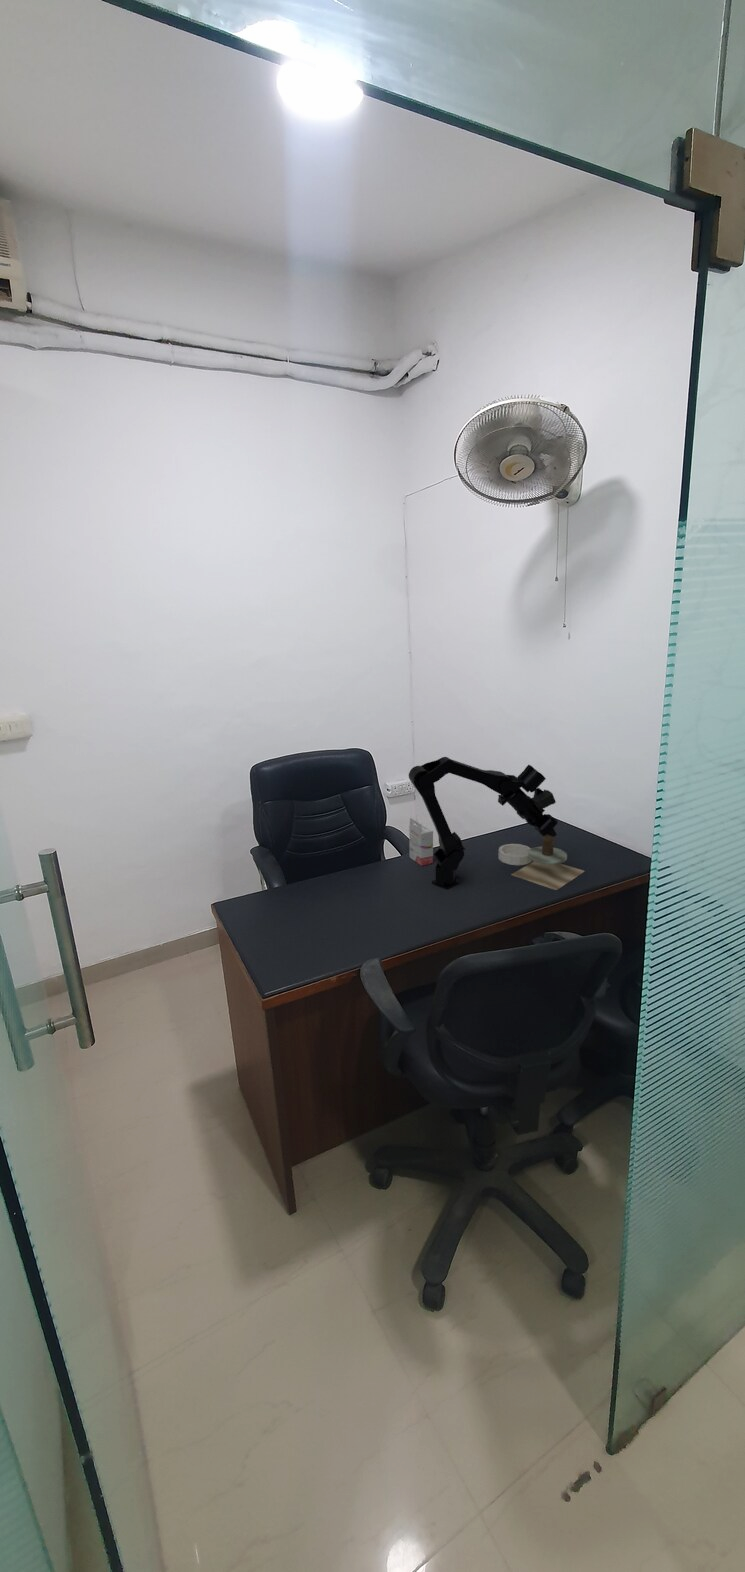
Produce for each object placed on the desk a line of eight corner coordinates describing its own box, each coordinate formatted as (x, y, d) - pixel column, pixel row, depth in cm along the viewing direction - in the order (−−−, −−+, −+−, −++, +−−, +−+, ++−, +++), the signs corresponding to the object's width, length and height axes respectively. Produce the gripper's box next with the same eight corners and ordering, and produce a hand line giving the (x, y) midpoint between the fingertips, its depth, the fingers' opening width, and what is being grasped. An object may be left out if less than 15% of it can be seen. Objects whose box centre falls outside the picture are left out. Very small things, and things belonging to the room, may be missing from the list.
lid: (555, 867, 184) (558, 834, 181) (520, 857, 192) (522, 825, 189) (573, 855, 193) (576, 823, 189) (539, 846, 200) (541, 815, 197)
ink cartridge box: (433, 863, 203) (434, 822, 199) (421, 866, 201) (420, 825, 197) (421, 854, 211) (421, 814, 206) (408, 857, 209) (408, 817, 204)
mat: (556, 891, 182) (556, 890, 182) (510, 875, 193) (510, 874, 193) (584, 871, 194) (584, 871, 194) (540, 858, 205) (540, 857, 205)
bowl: (520, 868, 197) (520, 859, 197) (492, 859, 205) (492, 850, 204) (538, 858, 205) (538, 849, 204) (510, 849, 212) (510, 841, 211)
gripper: (553, 792, 176) (585, 825, 181) (527, 775, 193) (557, 805, 198) (526, 820, 177) (559, 851, 182) (503, 800, 195) (533, 829, 199)
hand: (552, 833), depth 190 cm, fingers closed on lid, 3 cm apart
